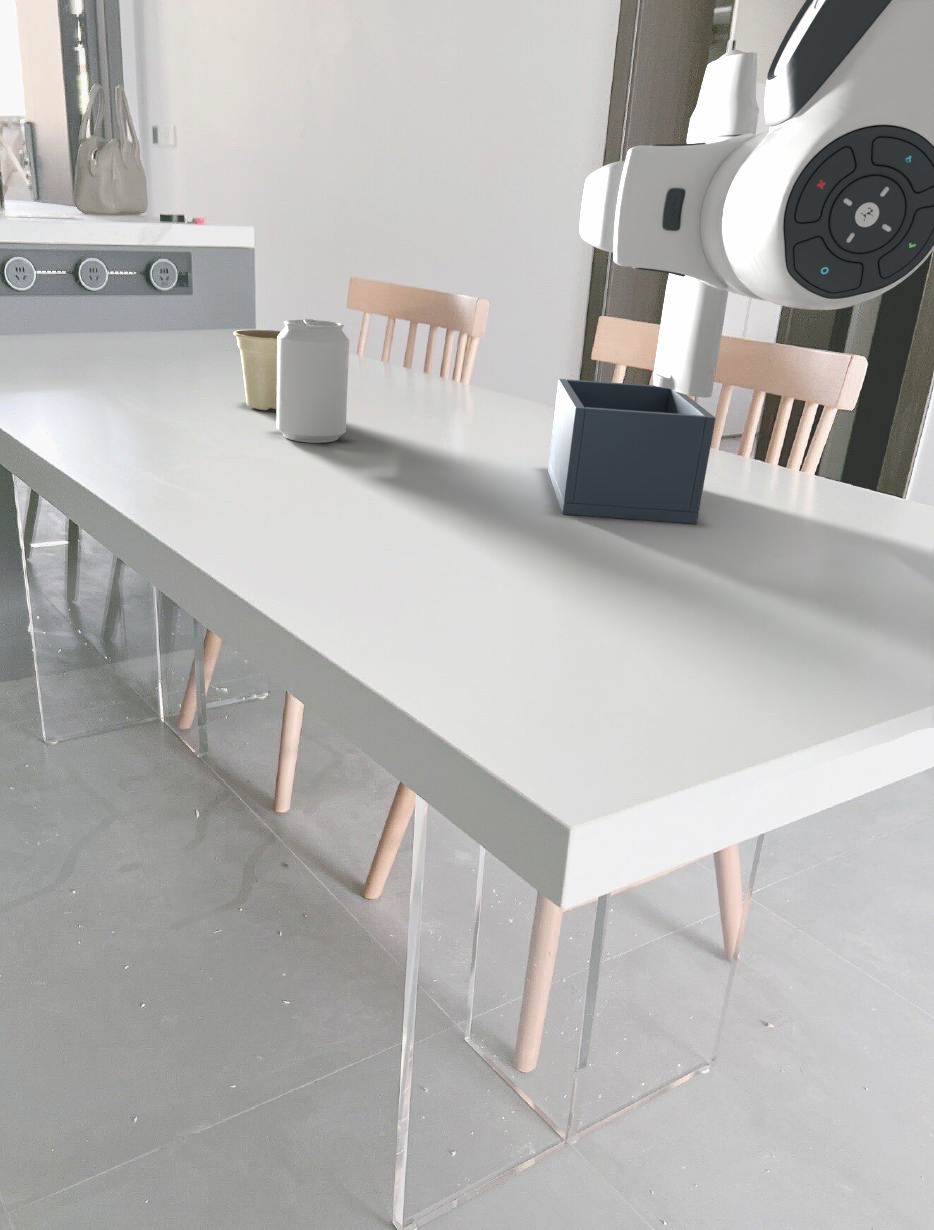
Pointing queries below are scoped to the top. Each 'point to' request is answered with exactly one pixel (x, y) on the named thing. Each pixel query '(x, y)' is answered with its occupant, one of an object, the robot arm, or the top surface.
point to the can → (312, 380)
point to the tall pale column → (689, 302)
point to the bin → (629, 451)
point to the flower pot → (259, 366)
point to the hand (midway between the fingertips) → (717, 217)
